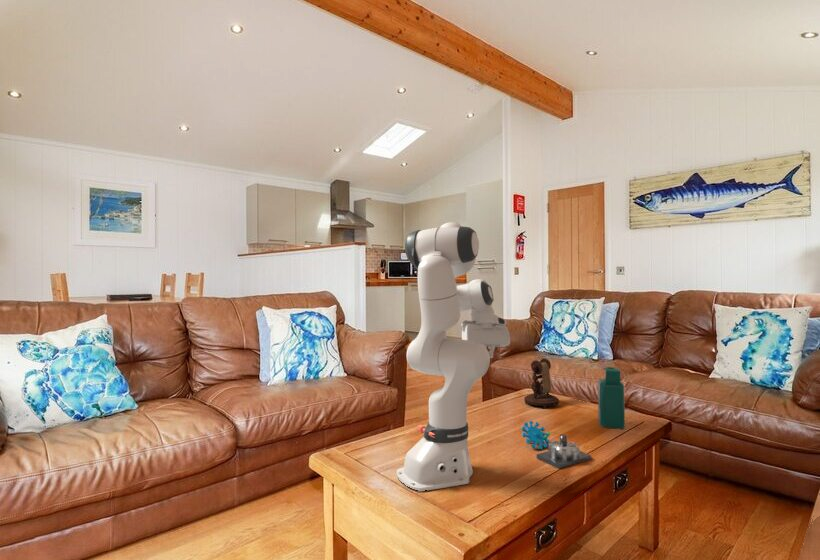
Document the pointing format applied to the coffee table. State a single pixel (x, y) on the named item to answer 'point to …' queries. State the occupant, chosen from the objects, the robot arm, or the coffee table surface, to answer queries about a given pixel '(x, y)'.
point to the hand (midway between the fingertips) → (489, 357)
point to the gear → (535, 435)
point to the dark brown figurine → (541, 385)
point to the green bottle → (611, 399)
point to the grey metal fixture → (563, 453)
